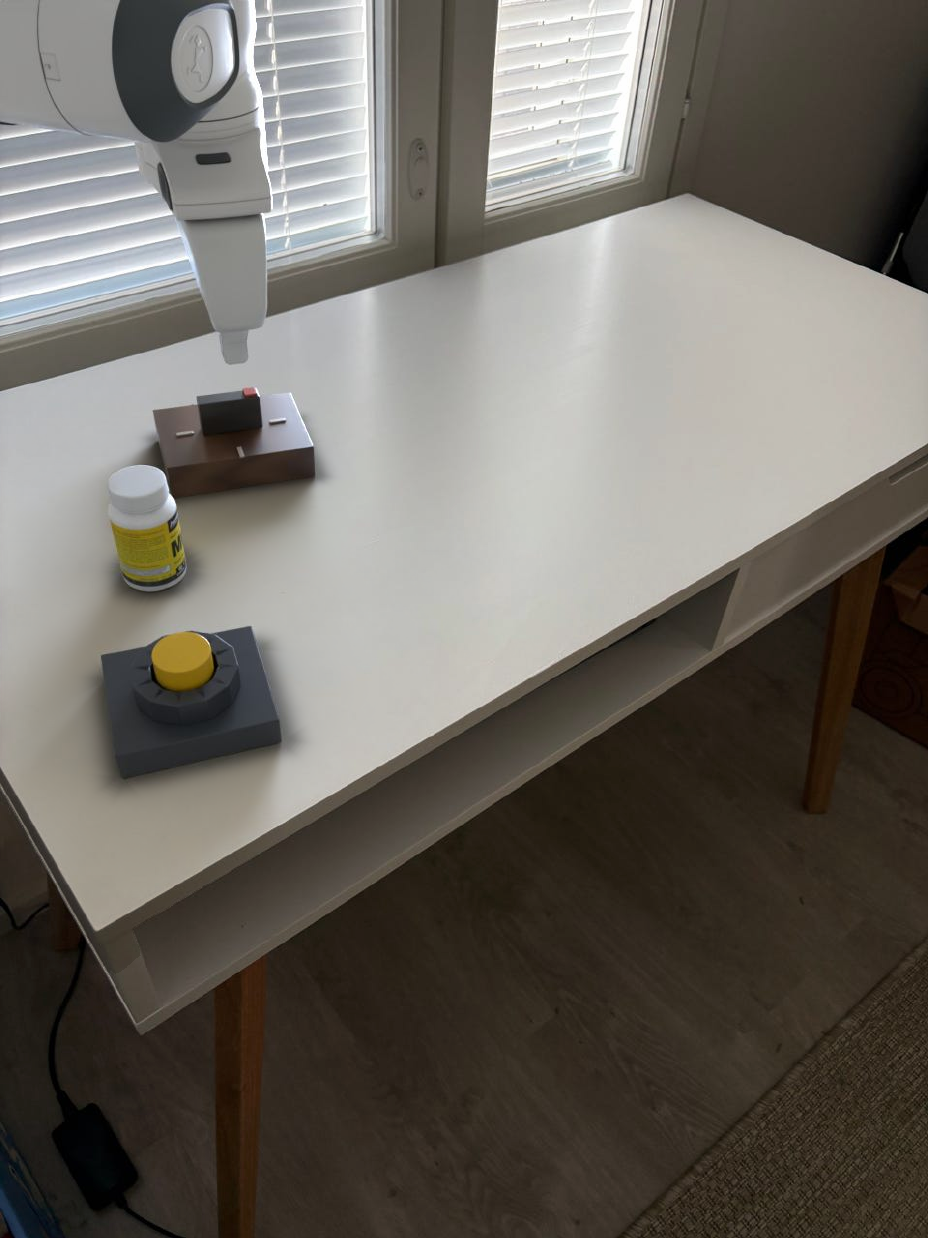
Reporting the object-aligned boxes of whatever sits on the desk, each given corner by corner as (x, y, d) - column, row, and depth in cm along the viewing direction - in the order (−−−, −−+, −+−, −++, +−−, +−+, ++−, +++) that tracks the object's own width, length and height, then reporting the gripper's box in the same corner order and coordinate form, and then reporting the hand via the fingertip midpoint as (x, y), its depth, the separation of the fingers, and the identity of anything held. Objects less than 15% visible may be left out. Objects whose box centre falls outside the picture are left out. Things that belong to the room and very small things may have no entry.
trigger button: (159, 697, 62) (155, 678, 61) (152, 657, 65) (147, 638, 63) (218, 685, 63) (215, 665, 62) (208, 646, 66) (205, 626, 65)
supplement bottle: (190, 588, 75) (174, 496, 69) (124, 598, 74) (103, 505, 68) (183, 548, 78) (167, 457, 73) (120, 557, 77) (99, 465, 71)
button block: (120, 779, 62) (108, 737, 59) (106, 677, 68) (95, 635, 65) (282, 742, 65) (277, 700, 62) (254, 647, 71) (249, 605, 68)
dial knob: (203, 435, 84) (198, 401, 82) (200, 427, 85) (195, 393, 83) (262, 427, 86) (259, 393, 84) (259, 418, 87) (256, 385, 84)
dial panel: (172, 499, 83) (166, 467, 81) (157, 438, 89) (151, 407, 87) (315, 476, 86) (314, 445, 84) (291, 420, 92) (289, 389, 90)
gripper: (137, 100, 76) (165, 276, 85) (175, 205, 62) (204, 401, 72) (221, 96, 78) (240, 269, 87) (277, 197, 64) (292, 389, 73)
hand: (224, 329), depth 79 cm, fingers open, 8 cm apart
